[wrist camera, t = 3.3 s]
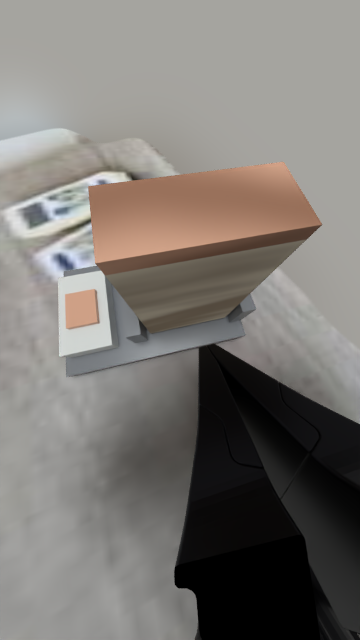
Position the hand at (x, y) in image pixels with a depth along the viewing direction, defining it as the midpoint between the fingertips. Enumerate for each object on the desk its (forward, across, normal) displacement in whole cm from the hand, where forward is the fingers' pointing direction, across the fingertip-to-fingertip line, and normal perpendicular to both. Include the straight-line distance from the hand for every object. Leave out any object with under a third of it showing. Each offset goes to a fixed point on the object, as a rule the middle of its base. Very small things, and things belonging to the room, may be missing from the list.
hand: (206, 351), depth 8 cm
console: (+9, +3, +1) cm, 9 cm away
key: (+7, 0, +1) cm, 7 cm away
